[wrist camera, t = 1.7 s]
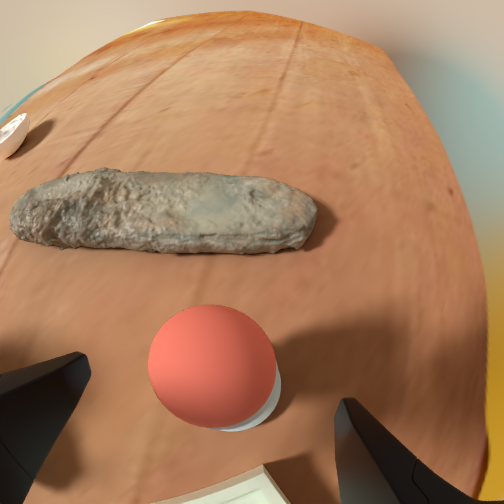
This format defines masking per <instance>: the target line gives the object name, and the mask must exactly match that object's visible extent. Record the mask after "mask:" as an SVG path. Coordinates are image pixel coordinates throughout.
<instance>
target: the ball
mask: <svg viewBox="0 0 504 504" xmlns="http://www.w3.org/2000/svg"><path fill="white" fill-rule="evenodd" d="M148 369H149V376H150V380H151V384H152V386H153V389H154V391H155V393H156V395H157V397H158V398H159V400H160V401H161V402H162V404H163V405H164V406H165V407H166V408H167V409H168V410H169V411H170V412H171V413H173V414H174V415H175V416H177V417H178V418H180V419H182V420H183V421H185V422H188V423H190V424H193V425H196V426H200V427H206V428H221V427H228V426H232V425H236V424H238V423H240V422H243V421H245V420H246V419H248V418H250V417H251V416H252V415H254V414H255V413H256V412H257V411H258V410H259V409H260V408H261V407H262V406H263V405H264V404H265V402H266V401H267V399H268V398H269V396H270V394H271V392H272V389H273V386H274V383H275V378H276V358H275V353H274V350H273V347H272V344H271V342H270V340H269V338H268V337H267V335H266V334H265V332H264V331H263V330H262V328H261V327H260V326H259V325H258V324H257V323H256V322H255V321H254V320H252V319H251V318H250V317H248V316H247V315H245V314H244V313H242V312H240V311H238V310H235V309H232V308H229V307H225V306H221V305H200V306H195V307H191V308H188V309H186V310H183V311H181V312H180V313H178V314H176V315H175V316H173V317H172V318H170V319H169V320H168V321H167V322H166V323H165V324H164V325H163V326H162V327H161V329H160V330H159V331H158V333H157V335H156V336H155V338H154V340H153V342H152V345H151V348H150V352H149V359H148Z"/></svg>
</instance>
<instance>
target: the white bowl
mask: <svg viewBox="0 0 504 504" xmlns="http://www.w3.org/2000/svg"><path fill="white" fill-rule="evenodd" d="M29 126H30V120H29V117H28V115H27V113H24V114H20V115H19V116H18V117H16V118H15V119H14V120H12V121H11V122H9V123H8V124H7V125H5V126H4V127H3V128H2V129H1V130H0V158H2V159H5V158H7V157H9V156H10V155H12V154H13V153H14V152H16V150H17V149H18V148H19V147H20V145H21V144H22V143H23V141H24V139H25V137H26V135H27V133H28V130H29Z"/></svg>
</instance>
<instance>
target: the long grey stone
mask: <svg viewBox="0 0 504 504" xmlns="http://www.w3.org/2000/svg"><path fill="white" fill-rule="evenodd" d="M9 217H10V218H9V220H10V223H11V225H10V229H11V230H12V231H13V233H14V234H15V235H16V236H17V238H18V239H20V240H24V241H27V242H35V243H36V244H39V243H42V244H45V245H46V246H48V247H49V246H50V245H52V244H55V245H56V246H60V248H61V250H64V249H65V248H67V247H73V248H74V249H76V248H77V247H79V246H85V247H93V248H100V249H102V248H110V247H113V248H116V247H122V248H126V249H133V250H137V251H139V250H140V251H144V250H147V251H150V252H155V251H159V252H161V253H164V254H168V253H175V252H179V253H186V252H189V253H197V252H220V253H221V252H222V253H234V254H236V253H239V254H244V253H248V254H249V253H259V252H270V253H272V254H273V253H275V252H277V251H279V250H280V249H282V248H288V247H294V248H295V249H297V250H298V249H299V248H300V247H301V246H303V244H304V243H305V240H307V239H308V237H309V236H310V234H311V232H312V230H313V228H314V225H315V220H316V219H317V206H316V205H315V203H314V201H313V199H312V198H311V197H310V196H308V195H307V194H306V193H304V192H302V191H300V190H299V189H296V188H294V187H292V186H290V185H287V184H285V183H280V182H279V181H276V180H274V179H269V178H265V177H258V176H245V177H243V176H230V175H218V174H212V173H197V172H196V173H191V172H185V173H166V172H165V173H164V172H144V171H138V172H128V173H126V172H121V171H120V170H117V169H108V168H105V167H104V168H100V169H97V170H95V171H87V172H85V173H81V174H80V173H79V172H77V173H76V174H72V175H68V174H67V175H66V176H64V177H63V178H57V179H54V180H52V181H49V182H46V183H43V184H40V185H39V186H36V187H34V188H32V189H29V190H28V191H26V192H25V193H23V194H22V195H21V196H20V197H19V199H18V200H17V201H16V202H15V204H14V205H13V207H12V208H11V211H10V216H9Z"/></svg>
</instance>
